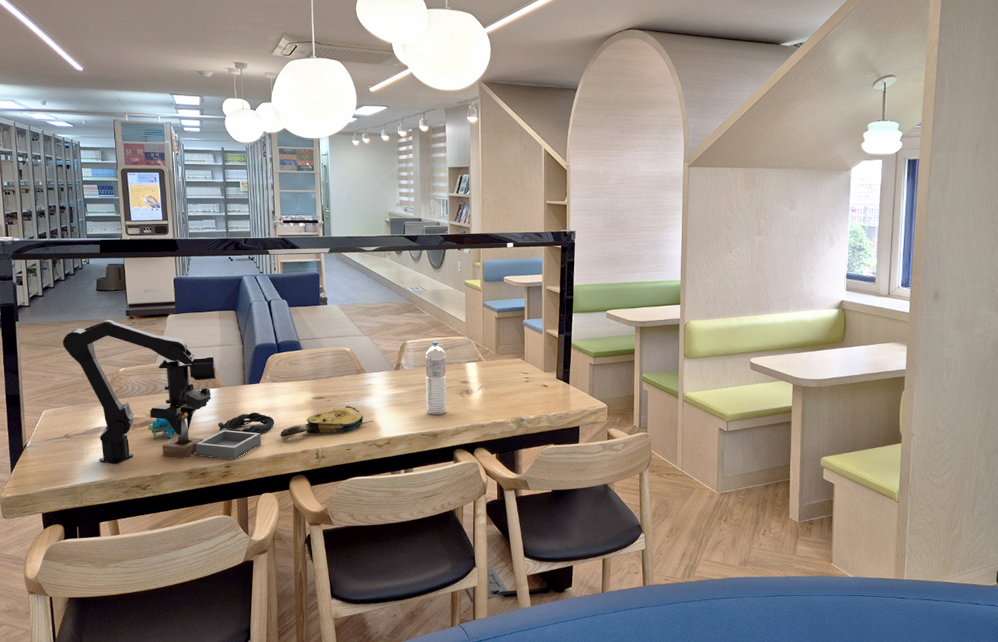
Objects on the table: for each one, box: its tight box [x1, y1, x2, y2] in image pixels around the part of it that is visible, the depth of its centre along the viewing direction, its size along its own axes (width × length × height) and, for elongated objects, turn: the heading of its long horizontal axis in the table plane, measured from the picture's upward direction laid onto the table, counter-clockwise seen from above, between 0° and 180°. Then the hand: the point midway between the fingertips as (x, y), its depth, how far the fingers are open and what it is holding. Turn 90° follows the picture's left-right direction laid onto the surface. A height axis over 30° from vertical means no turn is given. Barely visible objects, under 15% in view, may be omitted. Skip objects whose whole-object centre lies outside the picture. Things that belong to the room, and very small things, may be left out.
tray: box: [195, 430, 262, 460], centre depth 220 cm, size 13×13×4 cm
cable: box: [217, 412, 275, 435], centre depth 238 cm, size 17×14×4 cm
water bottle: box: [424, 341, 447, 416], centre depth 254 cm, size 7×7×25 cm
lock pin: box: [176, 412, 190, 445], centre depth 218 cm, size 4×4×10 cm
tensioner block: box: [162, 437, 205, 458], centre depth 218 cm, size 8×8×3 cm
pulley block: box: [279, 405, 373, 438], centre depth 238 cm, size 14×6×30 cm
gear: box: [148, 418, 176, 440], centre depth 232 cm, size 11×6×10 cm
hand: (182, 432), depth 218 cm, fingers closed on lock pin, 3 cm apart
